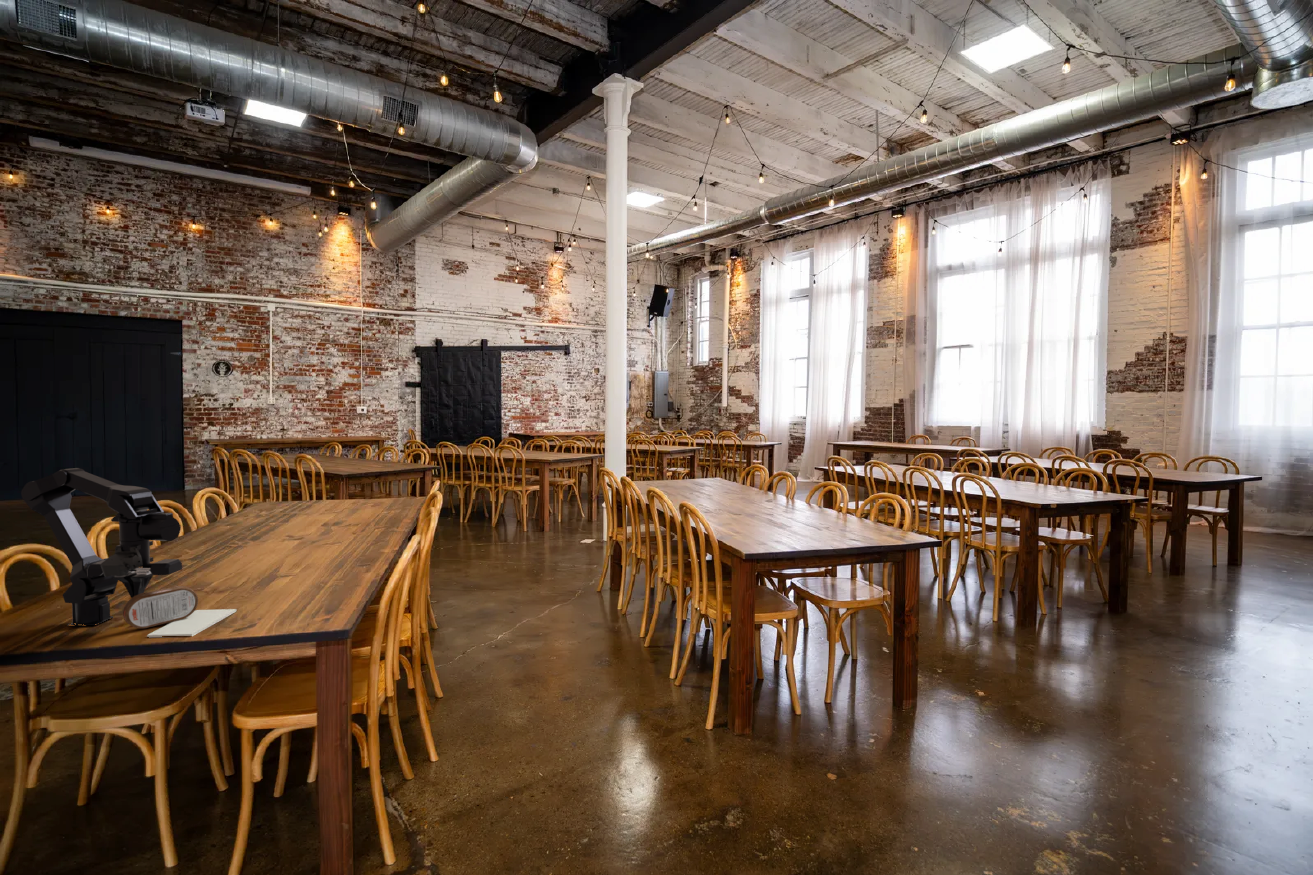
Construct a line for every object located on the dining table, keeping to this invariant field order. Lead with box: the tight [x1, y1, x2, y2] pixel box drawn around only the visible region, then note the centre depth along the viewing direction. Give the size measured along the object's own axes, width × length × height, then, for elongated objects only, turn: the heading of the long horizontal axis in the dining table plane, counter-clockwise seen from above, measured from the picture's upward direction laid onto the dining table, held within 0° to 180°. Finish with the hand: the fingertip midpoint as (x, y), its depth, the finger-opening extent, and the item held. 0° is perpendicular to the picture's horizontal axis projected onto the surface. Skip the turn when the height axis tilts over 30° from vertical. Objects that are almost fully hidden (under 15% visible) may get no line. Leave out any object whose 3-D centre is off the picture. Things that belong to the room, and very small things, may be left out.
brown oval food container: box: [122, 585, 199, 629], centre depth 161 cm, size 15×3×8 cm, turn 140°
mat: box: [146, 608, 237, 638], centre depth 163 cm, size 10×19×1 cm, turn 5°
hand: (136, 601), depth 161 cm, fingers closed
